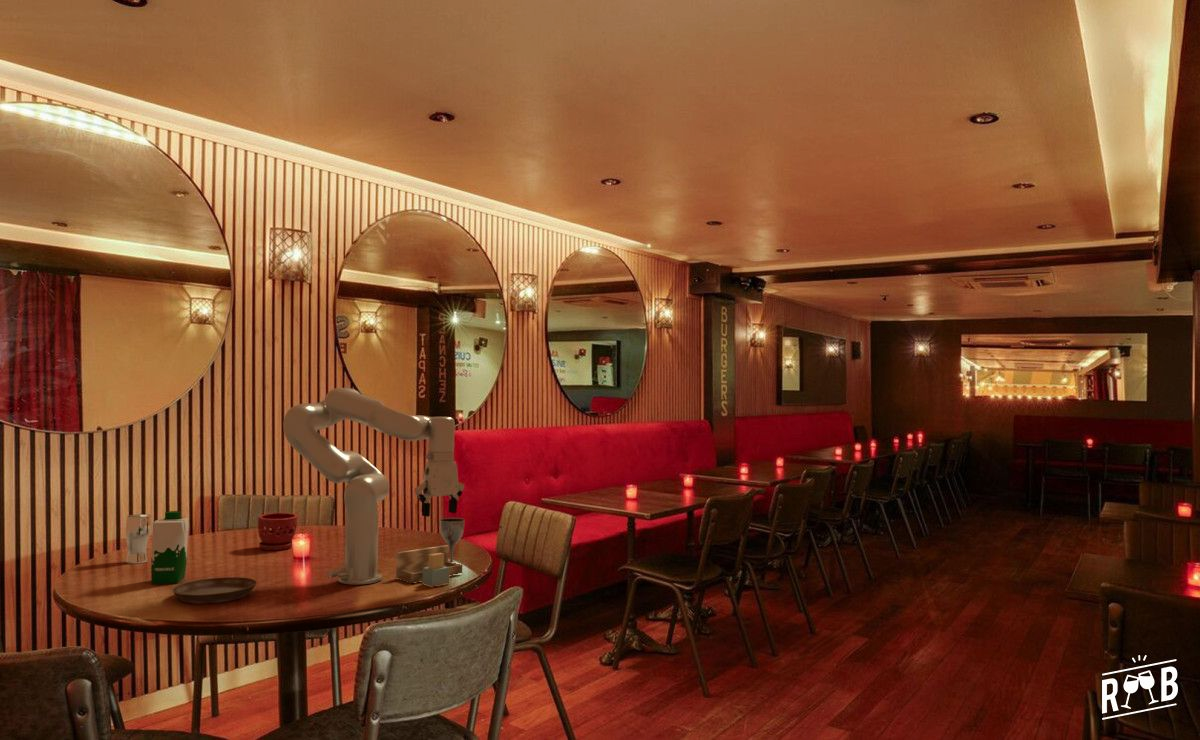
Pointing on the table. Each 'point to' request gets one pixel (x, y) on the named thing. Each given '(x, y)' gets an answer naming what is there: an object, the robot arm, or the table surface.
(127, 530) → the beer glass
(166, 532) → the milk carton
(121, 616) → the table surface
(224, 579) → the plant saucer
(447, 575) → the grey square block
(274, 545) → the plant pot
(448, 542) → the wine glass
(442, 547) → the board
